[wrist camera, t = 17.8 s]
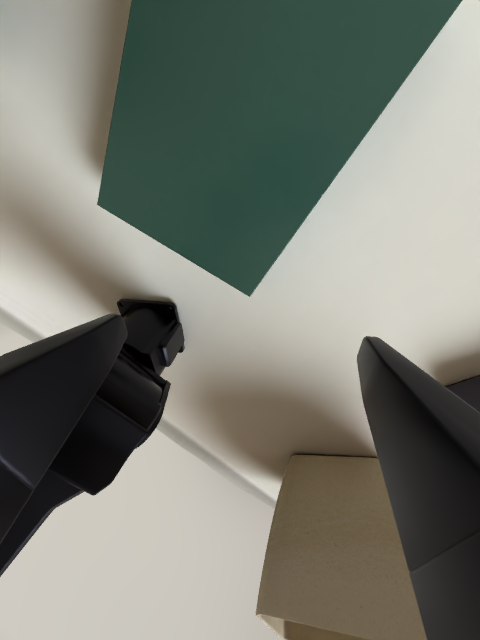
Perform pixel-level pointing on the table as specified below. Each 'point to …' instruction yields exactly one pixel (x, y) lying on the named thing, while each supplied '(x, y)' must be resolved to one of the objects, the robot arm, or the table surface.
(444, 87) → the table surface
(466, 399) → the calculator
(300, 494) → the flower pot
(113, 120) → the book
